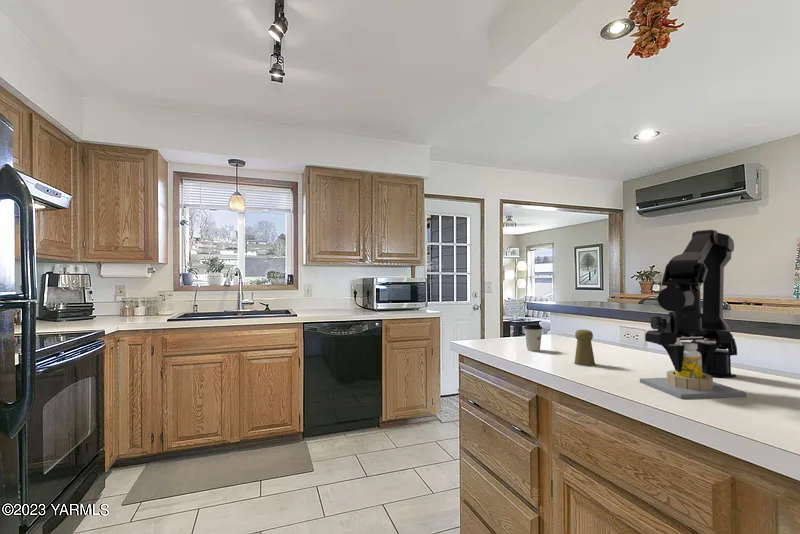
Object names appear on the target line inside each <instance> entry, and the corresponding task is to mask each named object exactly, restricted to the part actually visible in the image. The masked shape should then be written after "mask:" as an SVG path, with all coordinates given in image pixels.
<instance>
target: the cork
mask: <svg viewBox="0 0 800 534" xmlns="http://www.w3.org/2000/svg"><path fill="white" fill-rule="evenodd" d="M574 336H575V339H576V346H575V354H574V355H575V356H574V365H577V366H581V367H582V366H583V367H594V366H596V362H595V357H594V355H595V354H594V351H593V350H594V349H593V345H592V343H593V342H592V340H593V338H594V334H593V332H592V331H591V330H589V329H578V330H576V331H575V334H574Z"/></svg>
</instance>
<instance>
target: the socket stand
mask: <svg viewBox="0 0 800 534" xmlns="http://www.w3.org/2000/svg"><path fill="white" fill-rule="evenodd" d="M713 379H714V377H713V376H710V375H707V374H704V373H702V378H687V377H682V376H677V375H676V370H675V369H674V370H669V371H666V377H641V378H639V383H640V384H643V385H646V386H647V387H650V388H654V389H656V390H658V391H662V392H663V393H665V394H668V395H671V396H673V397H676V398H678V399H681V400H682V399H685V400H686V399H709V398H710V399H711V398H713V399H714V398H736V397H737V398H738V397H740V398H741V397H747V392H746V391H744V390H740V389H738V388H735V387H731V386H728V385H725V384H722V383H719V382H715V381H714V380H713Z"/></svg>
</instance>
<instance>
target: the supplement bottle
mask: <svg viewBox="0 0 800 534" xmlns="http://www.w3.org/2000/svg"><path fill="white" fill-rule="evenodd" d="M680 345H683V346H685V347H684V354H683V362H682V368H681V371H680V372H678V371H676V375H677V376H682V377H687V378H702V356H701V353H700V352H698V351H696V349H697V348H698V345H697V343H694V342H691V341H680Z"/></svg>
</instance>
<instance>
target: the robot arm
mask: <svg viewBox="0 0 800 534" xmlns="http://www.w3.org/2000/svg"><path fill="white" fill-rule="evenodd" d="M734 250H735V243H734V239H732V237H731V236H730V235H728V234H725V233H721V232H718V231H717V230H715V229H704V230H696V231H693V232H692V234H691V239H690V240H689V243H688V244H687V245H686V247H685V249H684V250H683V252H682V253H681V254H678V255H675V256H673V257H672V258H670V260H669V261H668V263H667V264H666V266H665V268H664V273H663V277H662V280H661V286H662V287H663V286H664V287H665V286H666V287H665V288H663V289H662V290H661V291H660V292H659V293H658V296H657V302H658V305H659V306H660V307H661V308H662V309H663V310H665V311H667V312H668V317H667V318H662V317H661V316H660V315H659V316H651V317H650V322H649V323H650V327H651V329H652V330H650V329H649V330H647V331H646V332H645V337H644V339H645V340H644V341H645V342H648V343H652V344H656V345H658V346H659V345H660V346H662V347H663V349H664V350H665V351H666V352H667V354H668V357H669V359H670V360H671V363H672V365H673V367H674V370H676V371H678V372H680V371H681V368H682V362H683V354H684V347H685V346H683V345H680V342H681V341H690V342H694V343H697V345H698V348H697V349H696V351H698V352H700V353H701V356H702V373H704V374H707V375H710V376H711V377H713V378H726V377H727V378H728V377H729V378H730V377H731V378H732V377H737V374H734V373H732V370H731V369H732V367H731V365H732V364H731V356H737V355H738V346H737V343H736V340H735V338H734V335H733V334H732V333H731V327H730V326H729V325H728V323H727V322H726V320H725V318H724V284H725V283H724V278H725V277H724V276H725V275H724V272H725V267H726V265H727V264H728V263H729V262H730V261H731V259H732V253H733V252H734ZM701 286H703V287H702V297H701ZM701 298H702V300H701Z"/></svg>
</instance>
